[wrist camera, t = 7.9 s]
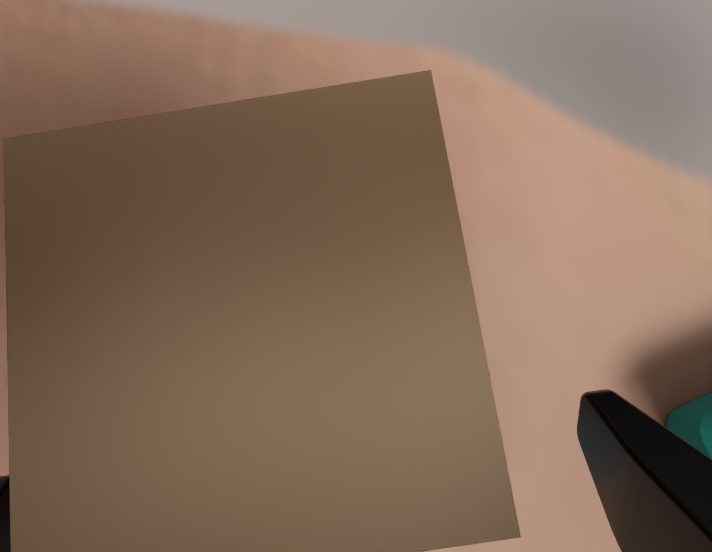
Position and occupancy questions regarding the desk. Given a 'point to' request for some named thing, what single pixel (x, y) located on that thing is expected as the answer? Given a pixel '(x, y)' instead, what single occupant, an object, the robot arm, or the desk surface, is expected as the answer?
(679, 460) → the robot arm
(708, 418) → the digital multimeter
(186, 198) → the walnut block
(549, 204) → the desk surface
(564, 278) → the desk surface
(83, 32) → the desk surface
